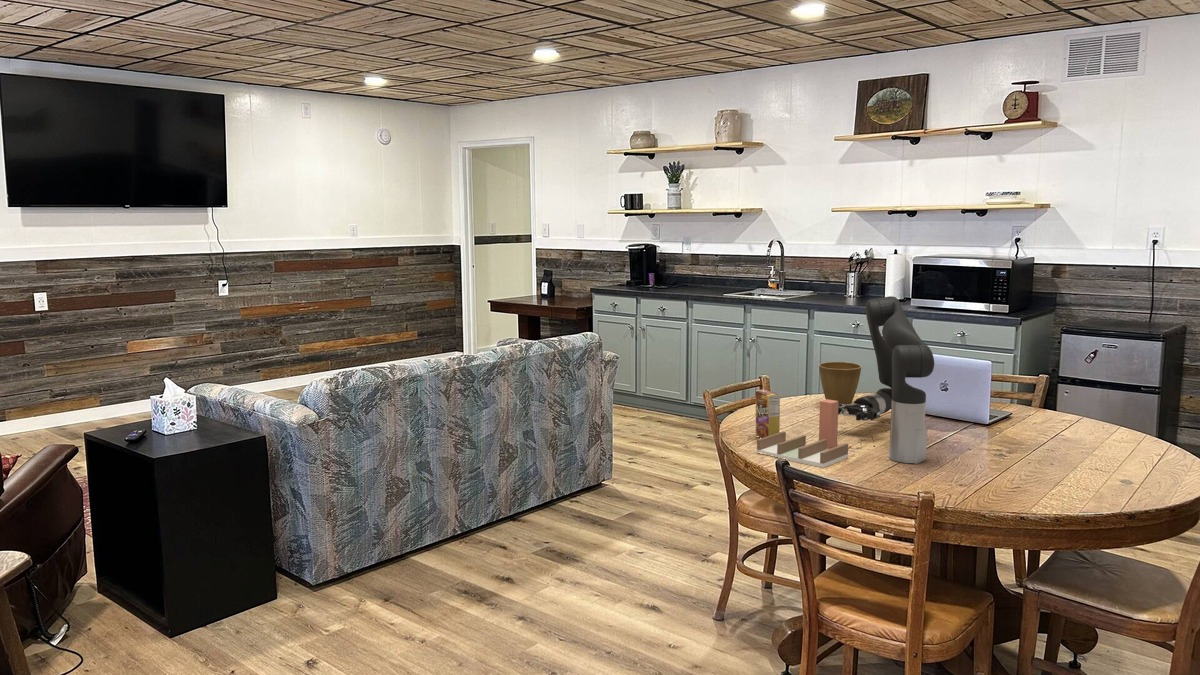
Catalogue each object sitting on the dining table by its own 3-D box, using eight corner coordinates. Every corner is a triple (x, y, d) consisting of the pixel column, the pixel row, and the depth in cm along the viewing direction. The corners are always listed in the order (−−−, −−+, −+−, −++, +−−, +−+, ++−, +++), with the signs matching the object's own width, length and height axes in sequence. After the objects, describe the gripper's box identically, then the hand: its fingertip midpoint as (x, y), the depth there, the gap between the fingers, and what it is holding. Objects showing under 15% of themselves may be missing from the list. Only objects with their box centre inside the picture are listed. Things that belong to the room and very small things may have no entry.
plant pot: (812, 404, 327) (813, 362, 325) (851, 403, 328) (853, 361, 326) (825, 413, 312) (826, 368, 310) (866, 412, 313) (867, 368, 311)
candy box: (754, 436, 280) (755, 389, 278) (766, 435, 281) (767, 388, 279) (767, 443, 271) (768, 395, 269) (779, 442, 273) (781, 394, 271)
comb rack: (847, 457, 255) (848, 443, 254) (823, 467, 245) (823, 453, 244) (782, 444, 270) (782, 431, 269) (756, 453, 260) (757, 439, 260)
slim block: (837, 445, 268) (838, 401, 266) (830, 448, 265) (831, 403, 263) (825, 443, 271) (826, 399, 269) (818, 446, 268) (819, 401, 266)
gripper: (849, 392, 290) (824, 400, 278) (890, 398, 280) (866, 406, 269) (849, 414, 291) (823, 423, 279) (889, 421, 281) (865, 430, 270)
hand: (844, 415), depth 274 cm, fingers open, 8 cm apart
